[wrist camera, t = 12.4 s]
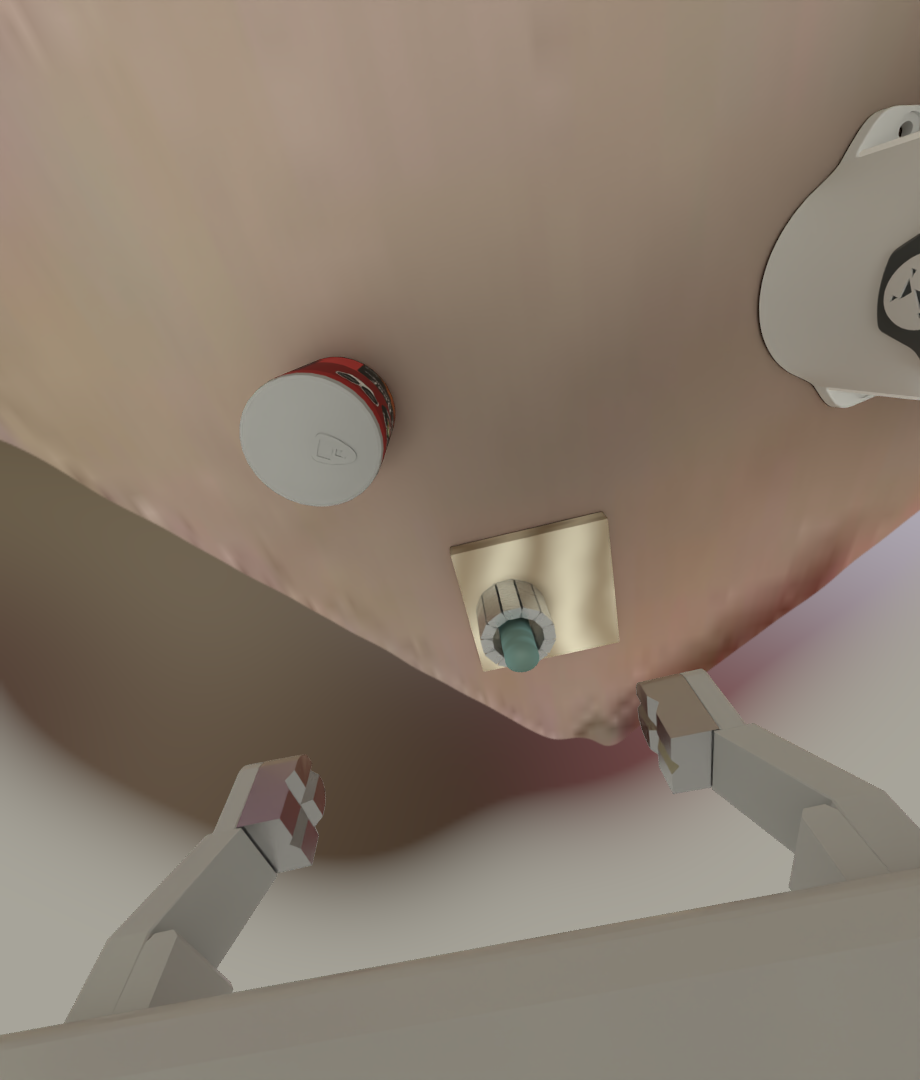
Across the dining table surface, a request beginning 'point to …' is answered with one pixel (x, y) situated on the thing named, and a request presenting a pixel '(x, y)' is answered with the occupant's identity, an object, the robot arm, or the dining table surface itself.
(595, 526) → the green peg on board
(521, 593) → the grey segmented ring
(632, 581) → the dining table surface
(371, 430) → the canned food
